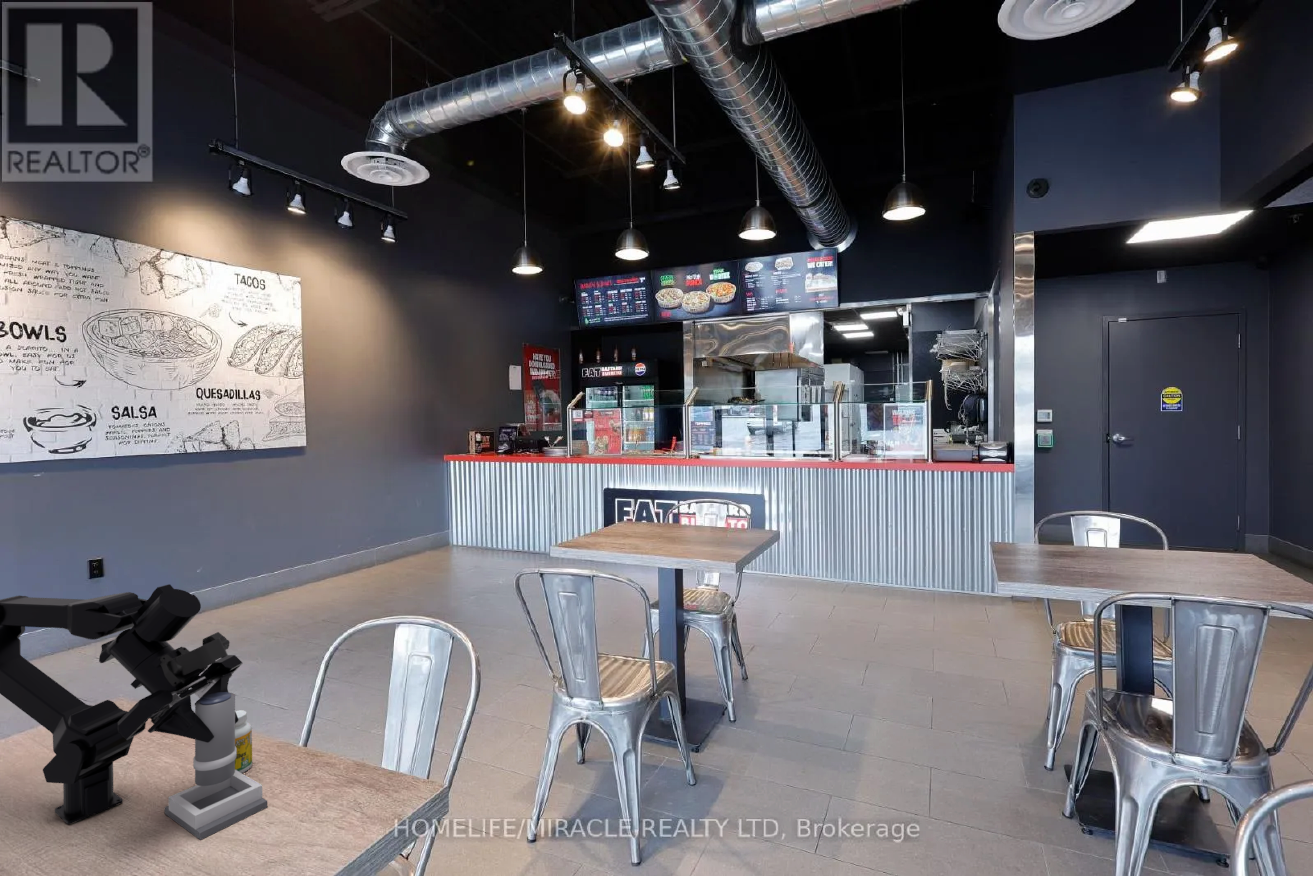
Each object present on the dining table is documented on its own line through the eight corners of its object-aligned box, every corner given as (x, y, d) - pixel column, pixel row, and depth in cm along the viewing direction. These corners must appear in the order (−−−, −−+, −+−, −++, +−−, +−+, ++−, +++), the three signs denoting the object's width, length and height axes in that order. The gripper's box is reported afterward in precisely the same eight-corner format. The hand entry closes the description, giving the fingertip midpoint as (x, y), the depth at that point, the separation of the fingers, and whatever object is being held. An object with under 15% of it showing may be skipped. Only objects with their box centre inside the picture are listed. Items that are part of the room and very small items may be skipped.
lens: (186, 779, 93) (187, 699, 93) (226, 763, 98) (226, 687, 98) (202, 790, 90) (203, 708, 90) (243, 773, 95) (243, 695, 95)
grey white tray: (164, 813, 93) (164, 794, 93) (230, 784, 101) (229, 766, 101) (200, 840, 87) (200, 819, 87) (267, 807, 95) (267, 788, 95)
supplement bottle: (252, 758, 109) (251, 705, 109) (252, 772, 105) (251, 716, 105) (215, 768, 106) (214, 713, 106) (213, 782, 102) (213, 725, 102)
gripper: (137, 644, 85) (217, 723, 85) (230, 606, 103) (296, 671, 103) (81, 700, 85) (161, 779, 85) (184, 653, 103) (249, 717, 103)
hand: (224, 731), depth 94 cm, fingers closed on lens, 5 cm apart
